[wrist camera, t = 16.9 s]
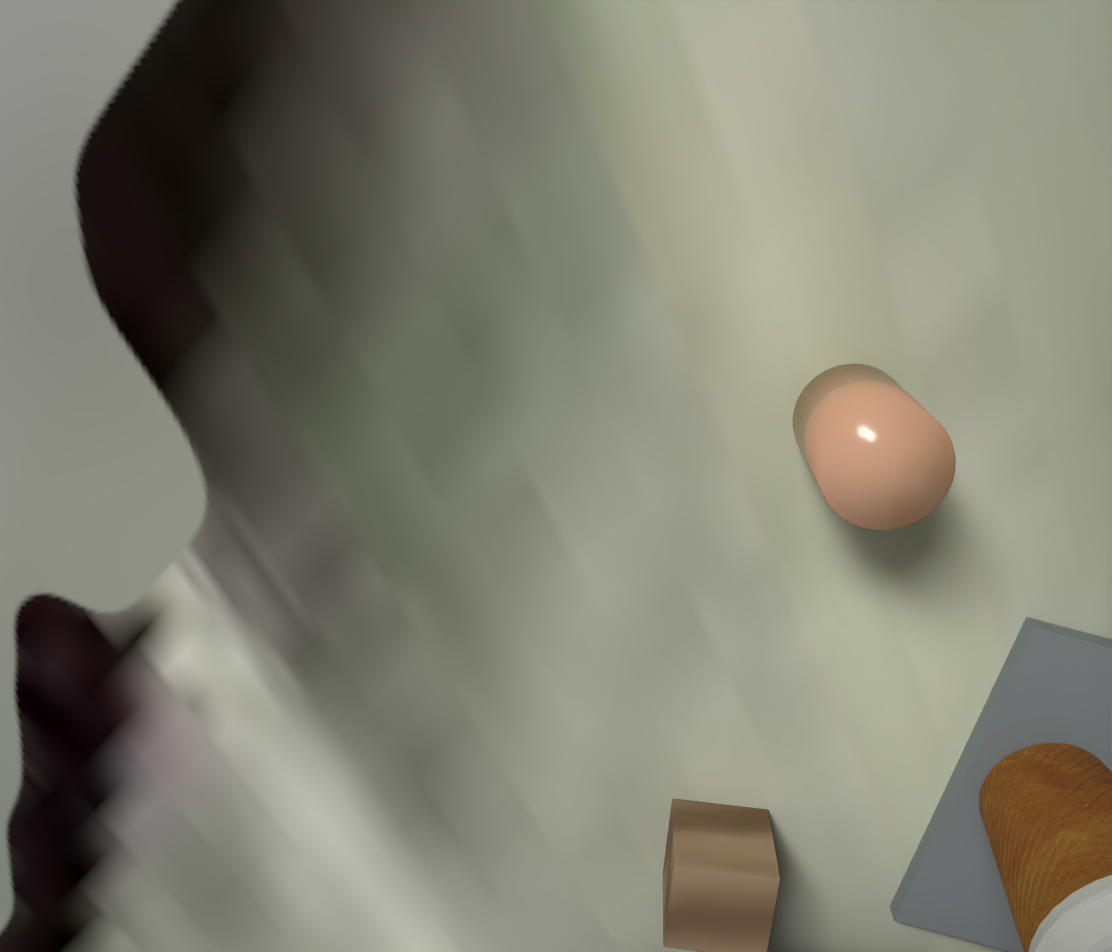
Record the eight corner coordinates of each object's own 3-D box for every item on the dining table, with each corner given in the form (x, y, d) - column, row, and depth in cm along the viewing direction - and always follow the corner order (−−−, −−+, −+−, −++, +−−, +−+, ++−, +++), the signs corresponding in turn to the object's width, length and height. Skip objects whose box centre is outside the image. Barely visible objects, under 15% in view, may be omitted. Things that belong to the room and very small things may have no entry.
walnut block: (672, 797, 49) (674, 865, 45) (768, 808, 49) (780, 878, 44) (662, 873, 51) (663, 946, 46) (755, 884, 51) (765, 959, 46)
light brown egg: (813, 351, 41) (844, 389, 34) (924, 380, 41) (976, 423, 34) (777, 456, 43) (800, 511, 36) (884, 483, 43) (926, 544, 36)
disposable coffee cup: (1143, 697, 44) (1317, 886, 32) (1153, 862, 47) (1317, 1089, 35) (933, 729, 45) (1029, 920, 34) (955, 886, 48) (1050, 1111, 37)
